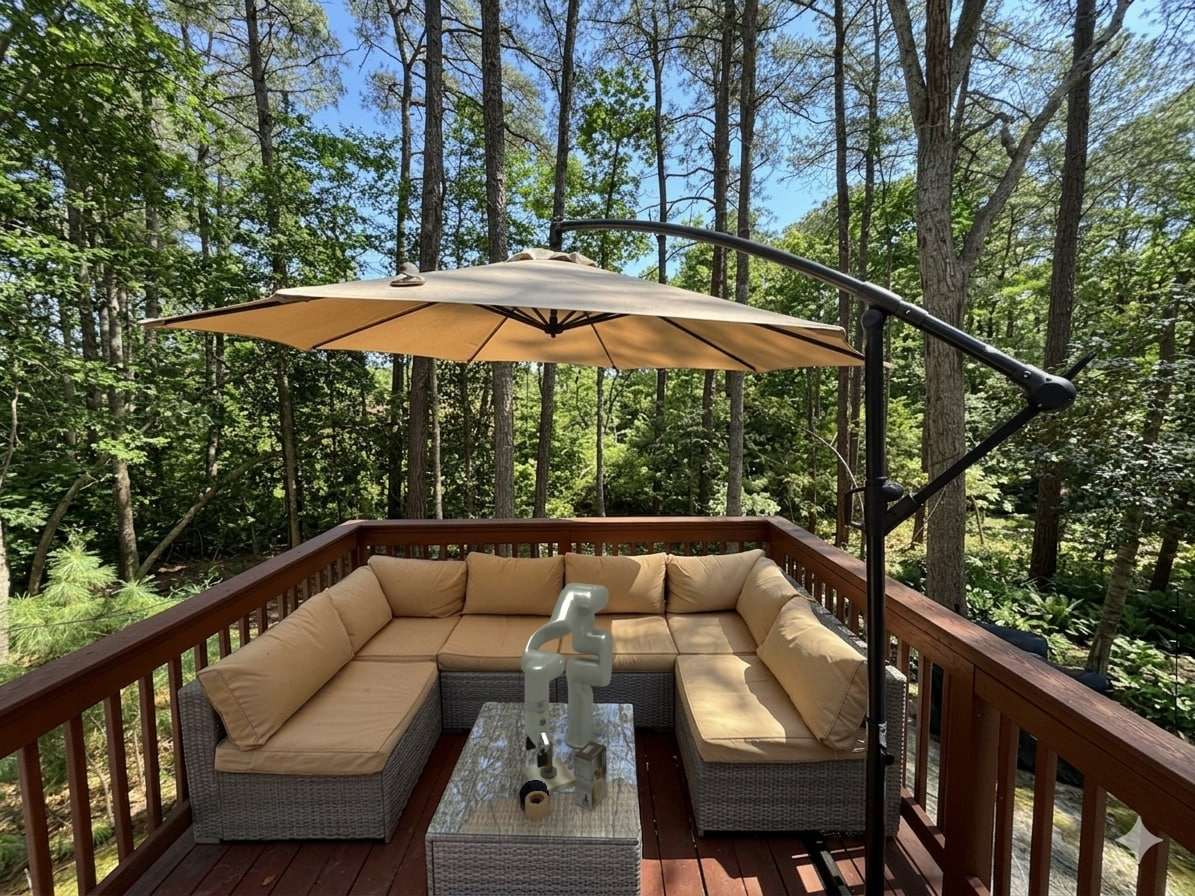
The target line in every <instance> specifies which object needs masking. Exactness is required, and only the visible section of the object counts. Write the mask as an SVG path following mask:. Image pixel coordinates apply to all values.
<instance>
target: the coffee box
mask: <svg viewBox="0 0 1195 896" xmlns="http://www.w3.org/2000/svg"><path fill="white" fill-rule="evenodd" d="M575 778H576V786H575V804H576V805H578V806H581V807H583V808H585V809H587V810H590V811H593V810H594V809H595V807H597V805H599V803H600V802H601V801H602V799H604V798H605V797H606V795H608V794H607V780H608V778H607V746H606V745H604V744H601V743H598V742H592V741H590V742H589V743H588V744H586V745H585V746H584V747H583V748H580V749H579V751H578V752H577V753H576V754H575Z"/></svg>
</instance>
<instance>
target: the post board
mask: <svg viewBox="0 0 1195 896" xmlns="http://www.w3.org/2000/svg"><path fill="white" fill-rule="evenodd" d="M553 745H554V743H553V741H551V740H550V743H549V751H548V765H547V766H543V767H540V768H538V767H537V763H534V764H531V765H528V766H525V767H522V768H521V775H522V777H523V778H524V780H525V781H532V780H539V781H542V782H543V783H545V784H546V786H547V790H548V791H549V793H550V795H553V794H555V793H554V792H556V793H558V792H562V791H564V790H567V789H570V788H572V787H576V776H574V774H573V773H572V772H571V770H570V769H569V767H567V765H566V764H565V762H564V761H563V760H562V759H561V757H560V756H556V757H554V758H553V755H554V754H553V752H554V751H553V749H554V747H553ZM561 790H562V791H561ZM552 793H553V794H552Z"/></svg>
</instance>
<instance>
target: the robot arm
mask: <svg viewBox="0 0 1195 896" xmlns="http://www.w3.org/2000/svg"><path fill="white" fill-rule="evenodd" d="M609 594H610V593H609V590H608V588H607V587H606V586H605V585H600V584H590V583H582V582H571V583H567V584H566V585H565V586H564V588H563V589H562V590H561V591H560V593H559V595H558V598H557V601H556V603H555V605H554V609H553V610H552V614H551V617H550V620H548V622H546V623H545V624H543V625H541V627H539V628H538V629H537V630H536V631H534V632H533V633H532V634H531V636H529V638H528V640H527V642H526V644H525V647H524V650H523V653H522V655H521V660H520V667H521V671H523V672H524V711H525V718H524V721H525V723H524V725H525V726H524V728H525V750H526V751H527V752H528V751H532V750H534V749H536V748H537V756H536V762H537V763H536V764H537V767H538V768H540V767H543V766H547V765H548V751H549V743H550V741H551V724H550V722H551V721H550V714H549V708H550V682H551V681H553V680H555V679H558V678H559V677H560V676H561V675H562V674H563V673H564V671H565V675H566V681H567V689H568V693H567V694H568V695H567V697H568V698H567V699H568V700H567V702H568V703H567V705H568V707H567V713H568V714H567V716H568V717H567V719H568V720H567V721H568V722H567V723H568V724H567V725H568V726H567V731H566V732H565V733H564V735H563V736H564V737H563V740H564V742H565V744H566V745H567V746H568V747H571V748H573V749H574V748H575V749H582V748H583V747H584V746H585V745H586V744H588V743H589V742H590V741H592V742H595V743H597V742H598V741H597V740H598V734H597V733H598V732H601V731H604V730H605V725H604V724H603V723H602V724H599V723H598V722H595V723H594V693H593V690H592V686H594V687H600V688H603V687H607V686H609V684H610V682H611V679H612V670H613V669H612V667H613V666H612V665H613V651H614V650H613V648H614V644H613V643H614V640H613V636H612V634H611V632H610V631H608V630H606V629H600V628H596V627H595V624H596V623H595V621H596V620H595V619H596V616H595V614H596V613H598V612H600V611H601V610H604V609H605V608H606V606H607V605H608V603H609V599H610V595H609ZM570 633H571V649H572V651H574V652H576V653H579V654H584V655H589V656H590V655H591V656H596V657H598V658H596V657H595V658H594V657H588V656H582V655H580V656H579V655H577V656H576V655H575V656H572V657H570V658H569V659H568V660H567V662H566V658H565V656H564V655H563V654H561V653H559V652H553V651H547V650H541V649H540V648H541V647H542V646H543V645H545V644H546V643H547V642H550V641H553V640H557V639H559V638H562V637H565V636H568V635H570ZM540 741H542V742H540ZM541 746H543V747H542V748H541Z"/></svg>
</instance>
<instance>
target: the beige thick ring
mask: <svg viewBox="0 0 1195 896" xmlns="http://www.w3.org/2000/svg"><path fill="white" fill-rule="evenodd" d="M535 798H539V799H540V800H541V801H540V803H538V804H537V803H532V802H531V801H532V800H533V799H535ZM549 802H550V801H549V795H547V793H545V792H543V791H533V792H532V791H531V792H529V793H528V794H527V795H526V796H525V800H524V809H525V810H524V813H525V815H526V817H527V818H528V819H530V820H541V819H543V818H545V817H546V816H547V815H548V814H549V808H550V807H549Z"/></svg>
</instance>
